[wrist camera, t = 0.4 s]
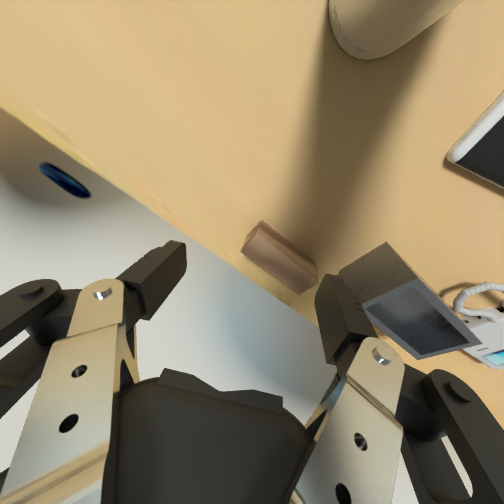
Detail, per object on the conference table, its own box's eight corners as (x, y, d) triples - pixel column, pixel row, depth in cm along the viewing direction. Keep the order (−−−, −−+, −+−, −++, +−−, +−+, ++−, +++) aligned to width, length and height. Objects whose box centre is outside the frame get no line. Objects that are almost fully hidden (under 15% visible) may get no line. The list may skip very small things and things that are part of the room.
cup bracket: (386, 241, 27) (418, 277, 20) (441, 298, 31) (483, 343, 24) (339, 270, 31) (353, 307, 24) (393, 317, 35) (417, 360, 28)
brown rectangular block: (261, 219, 28) (257, 234, 24) (314, 262, 31) (318, 282, 27) (246, 235, 30) (240, 251, 26) (297, 274, 33) (298, 294, 29)
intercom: (523, 276, 22) (619, 359, 27) (491, 256, 26) (580, 332, 30) (414, 323, 29) (503, 382, 34) (401, 302, 33) (483, 358, 37)
